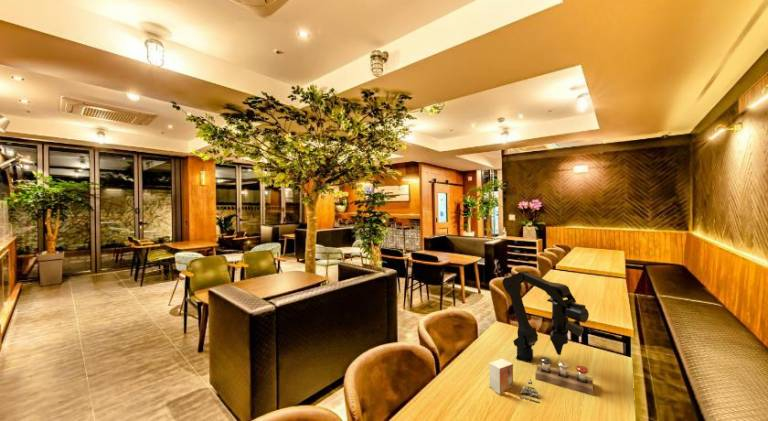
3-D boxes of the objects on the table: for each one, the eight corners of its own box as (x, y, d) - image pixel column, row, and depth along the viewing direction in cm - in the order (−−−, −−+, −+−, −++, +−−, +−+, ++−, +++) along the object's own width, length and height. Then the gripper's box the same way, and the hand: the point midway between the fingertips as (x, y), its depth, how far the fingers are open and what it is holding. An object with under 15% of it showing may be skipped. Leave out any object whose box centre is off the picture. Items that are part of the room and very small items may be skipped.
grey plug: (540, 373, 127) (539, 359, 127) (541, 368, 130) (541, 355, 130) (550, 375, 125) (550, 362, 125) (551, 371, 128) (551, 358, 128)
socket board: (535, 382, 126) (535, 373, 126) (538, 372, 133) (538, 363, 133) (592, 399, 115) (592, 388, 115) (592, 387, 122) (592, 377, 122)
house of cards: (545, 393, 119) (544, 374, 119) (545, 406, 111) (545, 385, 111) (520, 387, 123) (520, 368, 123) (519, 399, 116) (519, 379, 116)
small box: (499, 395, 118) (499, 368, 118) (488, 387, 123) (488, 362, 123) (513, 389, 121) (513, 363, 121) (502, 382, 126) (502, 357, 126)
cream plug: (557, 377, 124) (557, 364, 123) (558, 373, 127) (558, 360, 127) (568, 380, 121) (568, 366, 121) (569, 376, 125) (569, 362, 124)
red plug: (576, 382, 120) (576, 368, 120) (576, 378, 123) (576, 364, 123) (588, 386, 118) (588, 371, 117) (588, 381, 121) (588, 367, 121)
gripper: (583, 326, 115) (582, 365, 116) (581, 311, 131) (581, 346, 131) (550, 320, 121) (549, 357, 122) (552, 306, 137) (552, 340, 137)
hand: (559, 350), depth 128 cm, fingers open, 9 cm apart
